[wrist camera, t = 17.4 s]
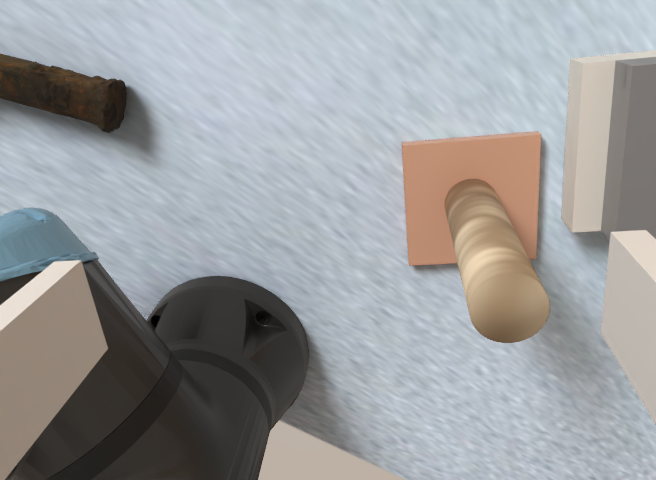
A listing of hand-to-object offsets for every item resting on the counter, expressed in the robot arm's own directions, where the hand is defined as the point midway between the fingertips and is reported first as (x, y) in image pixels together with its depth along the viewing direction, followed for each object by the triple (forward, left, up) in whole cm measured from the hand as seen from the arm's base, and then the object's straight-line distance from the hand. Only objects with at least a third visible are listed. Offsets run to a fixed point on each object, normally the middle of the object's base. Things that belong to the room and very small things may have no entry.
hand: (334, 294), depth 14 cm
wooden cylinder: (+7, -9, -30) cm, 32 cm away
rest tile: (+7, -9, -31) cm, 33 cm away
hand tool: (-28, +4, -31) cm, 42 cm away
